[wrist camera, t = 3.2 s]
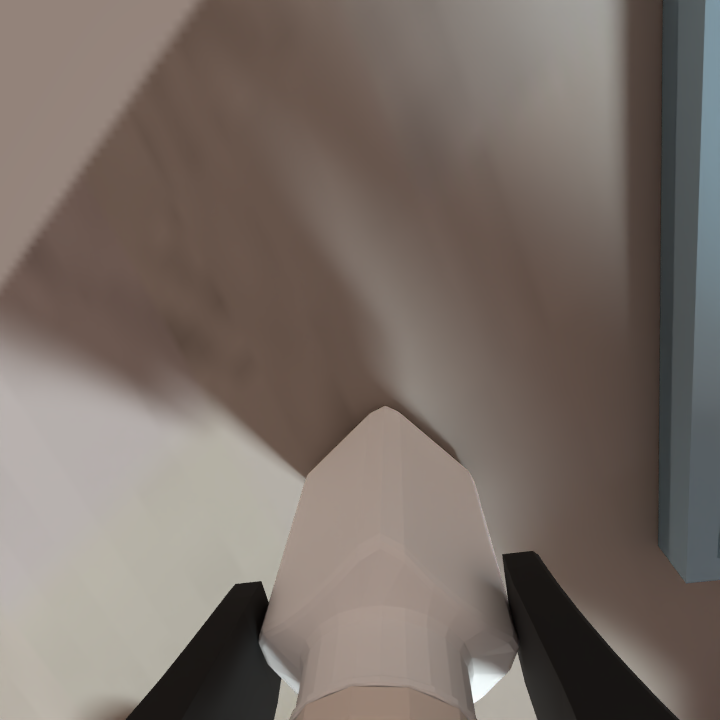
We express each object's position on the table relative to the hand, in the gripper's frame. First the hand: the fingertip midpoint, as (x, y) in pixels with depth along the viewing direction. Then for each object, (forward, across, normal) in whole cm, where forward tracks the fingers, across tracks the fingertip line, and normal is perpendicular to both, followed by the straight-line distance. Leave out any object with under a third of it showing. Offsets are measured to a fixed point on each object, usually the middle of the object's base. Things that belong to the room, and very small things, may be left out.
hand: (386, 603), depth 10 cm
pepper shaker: (+5, 0, 0) cm, 5 cm away
